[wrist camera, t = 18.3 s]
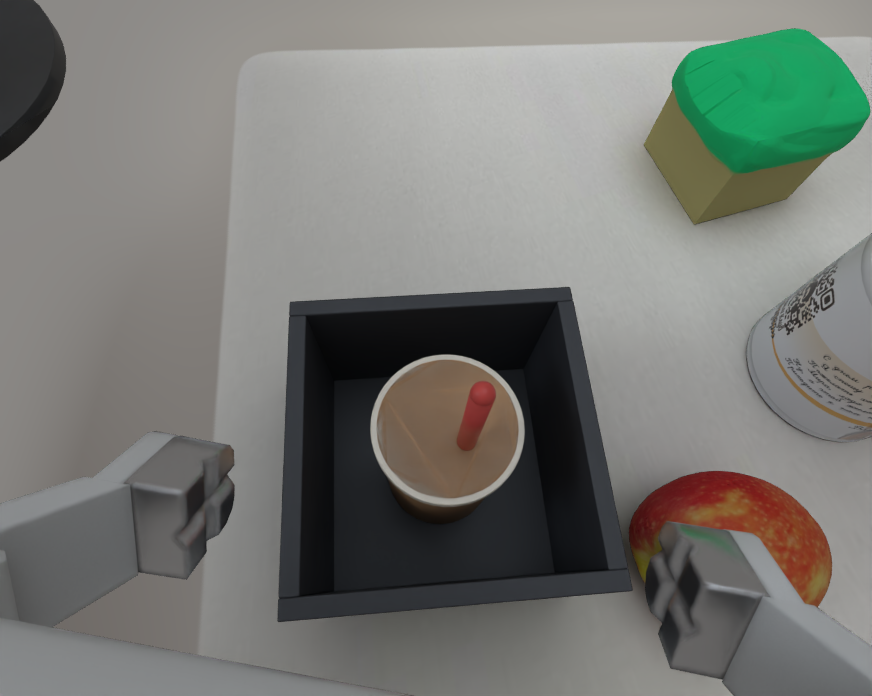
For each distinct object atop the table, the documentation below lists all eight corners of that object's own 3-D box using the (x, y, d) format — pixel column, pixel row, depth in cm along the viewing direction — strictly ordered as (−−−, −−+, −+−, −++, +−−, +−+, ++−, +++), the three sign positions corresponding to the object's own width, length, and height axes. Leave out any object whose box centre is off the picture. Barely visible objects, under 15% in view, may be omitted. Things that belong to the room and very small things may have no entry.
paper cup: (361, 476, 31) (307, 378, 16) (433, 397, 33) (446, 243, 18) (445, 552, 29) (474, 525, 14) (515, 465, 31) (604, 360, 16)
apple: (595, 506, 31) (650, 483, 24) (720, 466, 32) (809, 434, 25) (654, 654, 28) (737, 681, 21) (790, 605, 29) (913, 614, 22)
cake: (620, 142, 43) (676, 23, 34) (734, 114, 44) (816, -6, 35) (679, 238, 39) (758, 134, 30) (800, 204, 41) (911, 96, 32)
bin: (323, 374, 34) (289, 301, 25) (531, 361, 35) (570, 286, 26) (321, 608, 29) (276, 622, 20) (567, 587, 29) (633, 591, 20)
